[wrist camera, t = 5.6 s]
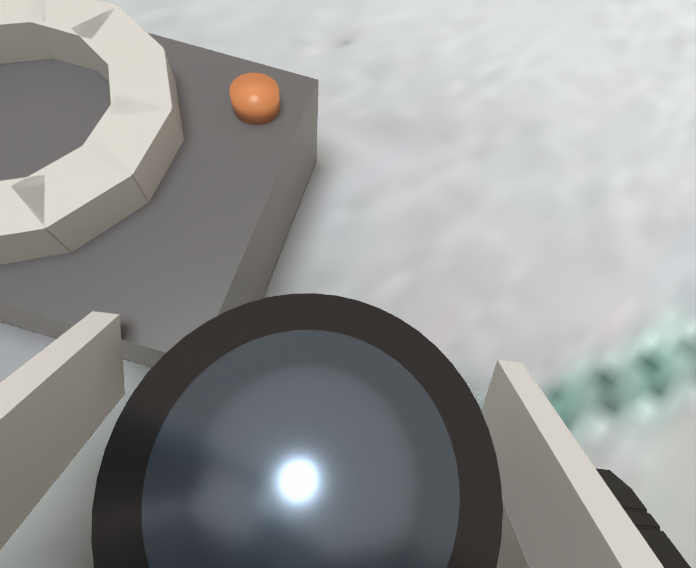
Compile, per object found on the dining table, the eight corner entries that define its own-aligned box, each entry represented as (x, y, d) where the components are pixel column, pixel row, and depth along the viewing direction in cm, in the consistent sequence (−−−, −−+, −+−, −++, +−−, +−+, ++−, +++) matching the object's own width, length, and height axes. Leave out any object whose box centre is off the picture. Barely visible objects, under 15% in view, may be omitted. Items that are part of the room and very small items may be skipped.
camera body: (-188, 265, 18) (-443, 161, 12) (-14, 67, 23) (-131, -79, 17) (227, 390, 17) (183, 348, 11) (316, 160, 22) (319, 44, 16)
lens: (214, 528, 15) (-33, 686, 4) (265, 384, 18) (189, 237, 6) (356, 573, 15) (488, 859, 4) (391, 421, 17) (538, 339, 6)
